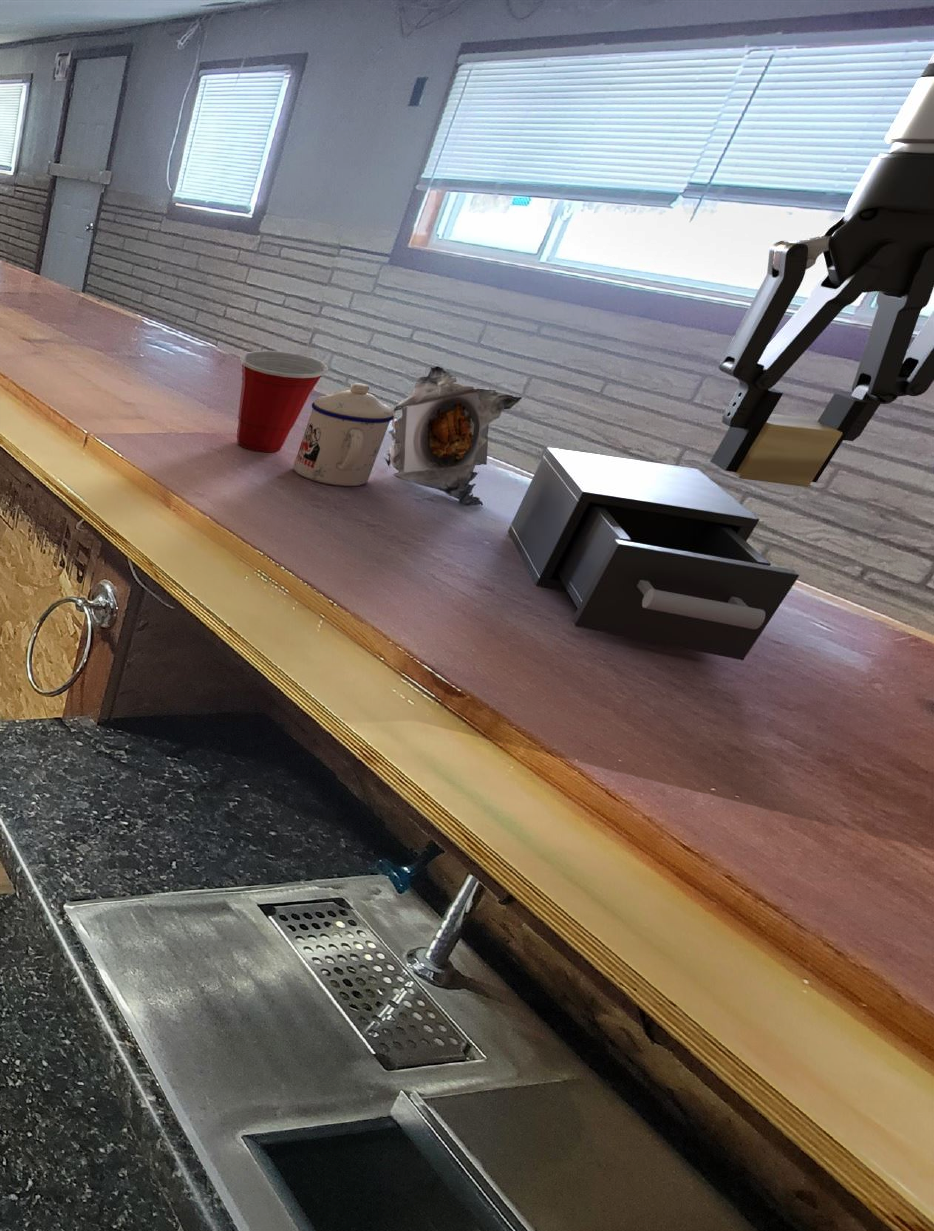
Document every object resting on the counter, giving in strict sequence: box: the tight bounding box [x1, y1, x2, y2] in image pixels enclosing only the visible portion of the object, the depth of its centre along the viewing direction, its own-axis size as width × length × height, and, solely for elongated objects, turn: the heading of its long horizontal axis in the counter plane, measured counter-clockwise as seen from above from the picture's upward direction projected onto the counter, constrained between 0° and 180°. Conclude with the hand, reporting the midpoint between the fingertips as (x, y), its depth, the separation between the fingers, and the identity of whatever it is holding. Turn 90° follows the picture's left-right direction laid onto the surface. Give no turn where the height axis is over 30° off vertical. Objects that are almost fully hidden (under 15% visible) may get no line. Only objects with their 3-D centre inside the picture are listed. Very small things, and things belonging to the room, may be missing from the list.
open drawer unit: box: [555, 502, 800, 661], centre depth 79 cm, size 19×12×8 cm, turn 154°
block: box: [728, 413, 843, 488], centre depth 73 cm, size 4×4×4 cm
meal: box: [383, 365, 523, 506], centre depth 111 cm, size 15×4×13 cm, turn 8°
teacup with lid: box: [293, 382, 395, 487], centre depth 111 cm, size 12×9×12 cm
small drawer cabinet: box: [507, 446, 760, 592], centre depth 90 cm, size 16×13×10 cm
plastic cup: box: [236, 350, 329, 453], centre depth 122 cm, size 11×11×12 cm
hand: (762, 471), depth 74 cm, fingers closed on block, 4 cm apart
